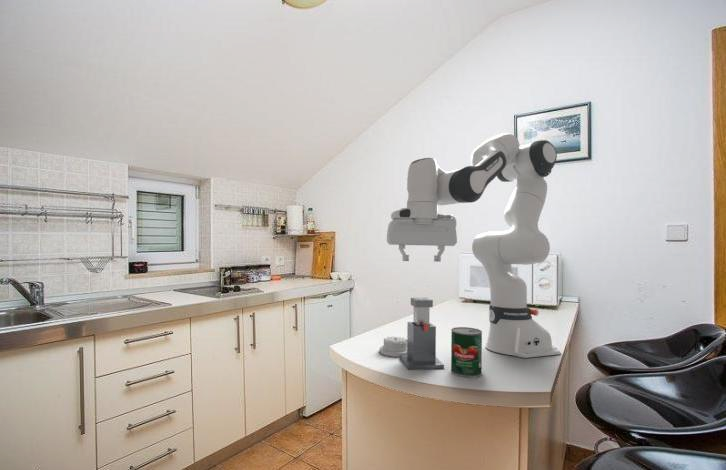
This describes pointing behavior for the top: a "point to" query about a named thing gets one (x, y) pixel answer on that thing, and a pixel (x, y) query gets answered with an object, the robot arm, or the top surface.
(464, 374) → the canned tomato
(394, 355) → the mechanical component
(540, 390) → the top surface
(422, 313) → the column
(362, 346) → the top surface
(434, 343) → the grey hollow housing
